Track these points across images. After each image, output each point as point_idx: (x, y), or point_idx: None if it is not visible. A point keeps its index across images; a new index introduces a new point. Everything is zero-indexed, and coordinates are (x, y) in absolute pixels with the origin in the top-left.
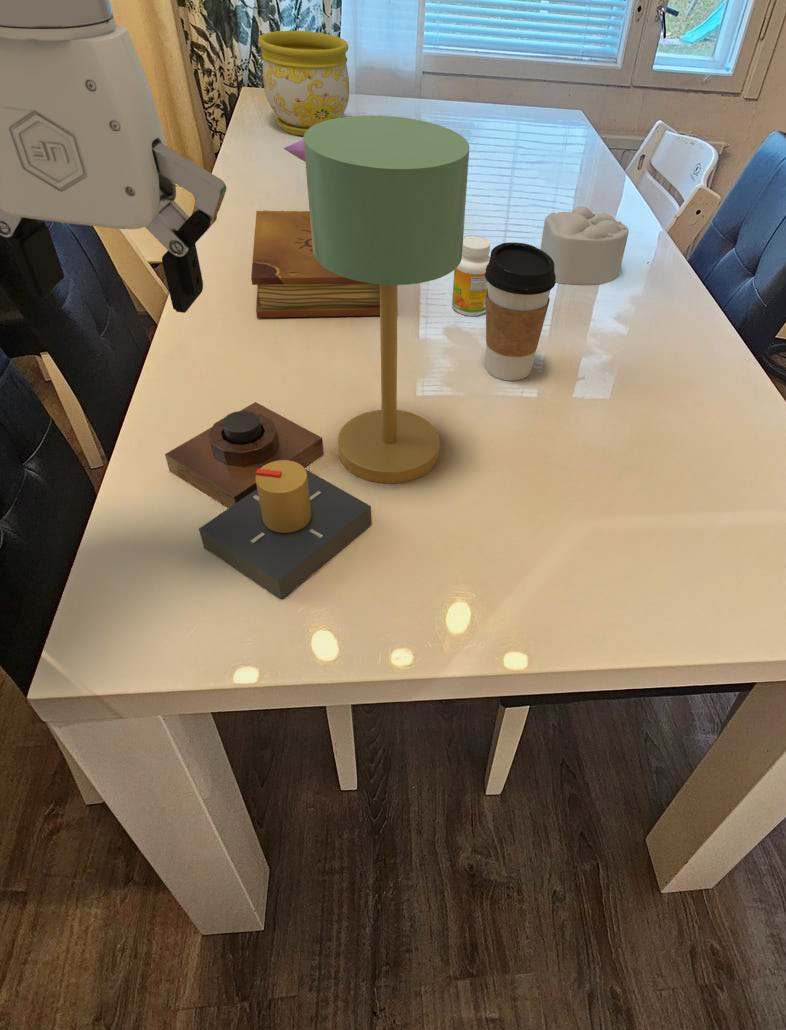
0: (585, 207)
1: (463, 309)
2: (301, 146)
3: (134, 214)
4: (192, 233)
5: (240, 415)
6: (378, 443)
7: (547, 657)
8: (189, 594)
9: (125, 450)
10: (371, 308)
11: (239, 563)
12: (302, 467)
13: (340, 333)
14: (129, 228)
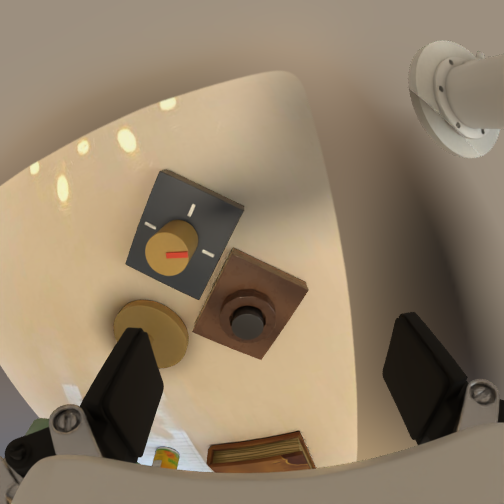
0: None
1: (167, 450)
2: None
3: (47, 482)
4: (39, 442)
5: (251, 333)
6: (153, 333)
7: (23, 176)
8: (235, 158)
9: (346, 295)
10: (223, 448)
11: (202, 188)
12: (154, 269)
13: (237, 429)
14: (95, 457)
